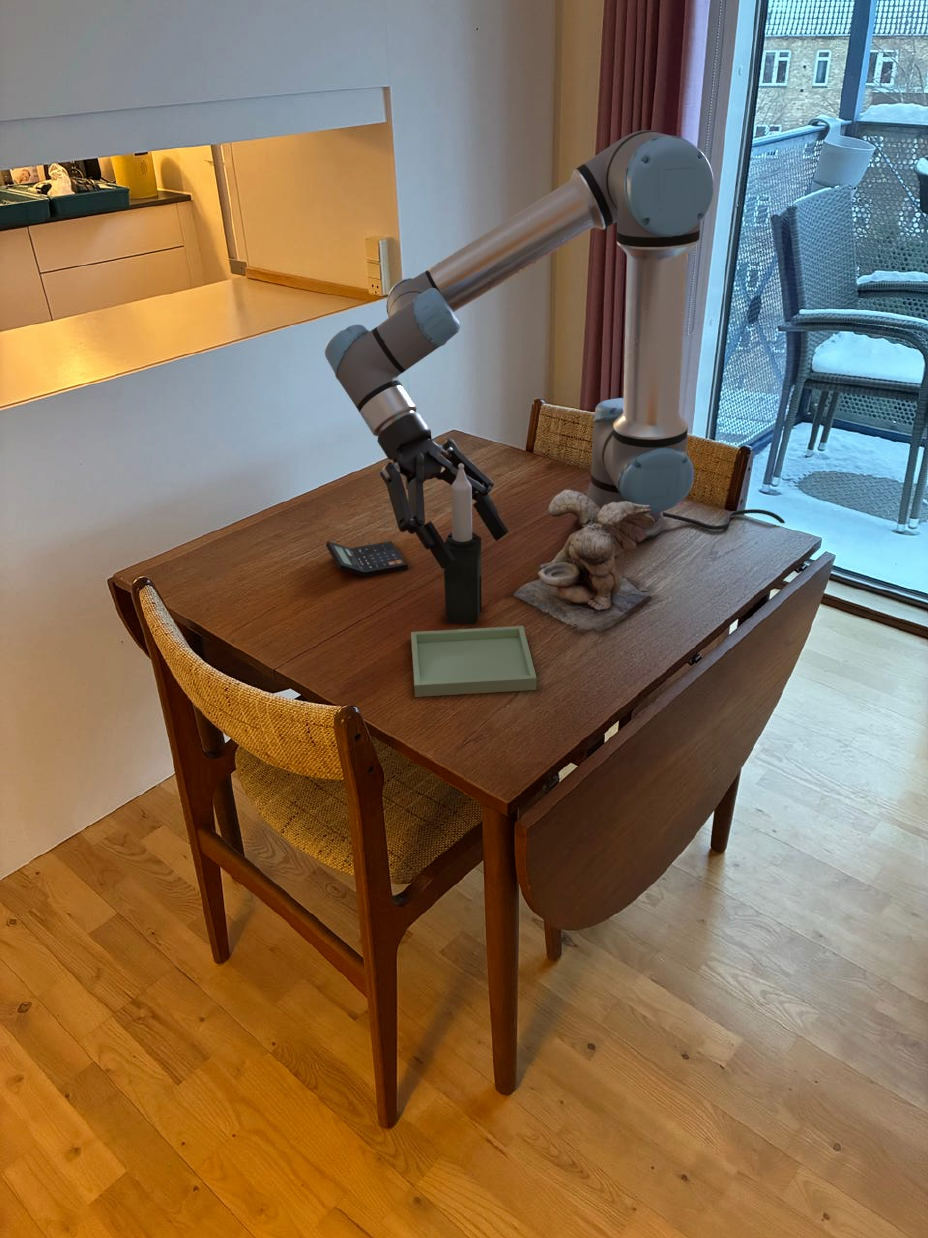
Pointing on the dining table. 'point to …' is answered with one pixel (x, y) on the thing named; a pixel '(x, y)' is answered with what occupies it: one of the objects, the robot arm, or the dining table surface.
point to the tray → (471, 661)
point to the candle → (462, 558)
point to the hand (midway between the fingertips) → (476, 550)
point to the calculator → (367, 558)
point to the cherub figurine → (591, 564)
